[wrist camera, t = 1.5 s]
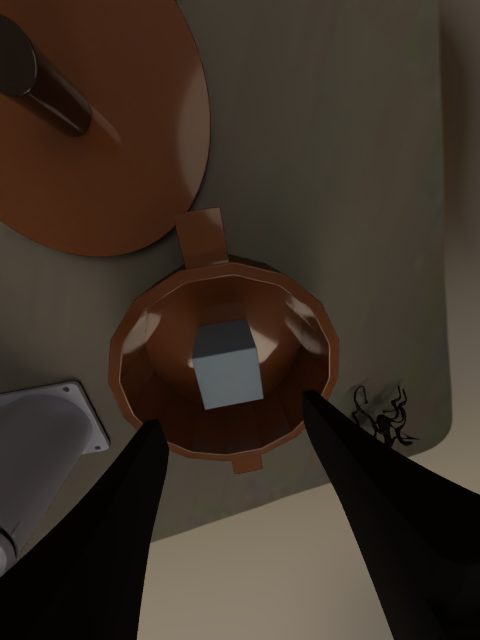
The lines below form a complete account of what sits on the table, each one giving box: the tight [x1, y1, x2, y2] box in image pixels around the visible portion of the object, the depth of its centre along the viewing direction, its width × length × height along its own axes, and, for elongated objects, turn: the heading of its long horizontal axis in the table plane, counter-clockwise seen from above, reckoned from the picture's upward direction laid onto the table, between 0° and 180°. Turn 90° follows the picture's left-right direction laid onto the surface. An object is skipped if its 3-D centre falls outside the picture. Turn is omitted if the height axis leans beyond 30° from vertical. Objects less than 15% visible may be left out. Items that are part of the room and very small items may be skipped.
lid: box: [0, 0, 211, 257], centre depth 11 cm, size 15×15×5 cm
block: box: [192, 319, 263, 409], centre depth 16 cm, size 4×4×5 cm
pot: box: [108, 207, 339, 475], centre depth 17 cm, size 14×20×6 cm
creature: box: [352, 386, 420, 448], centre depth 21 cm, size 8×5×8 cm
